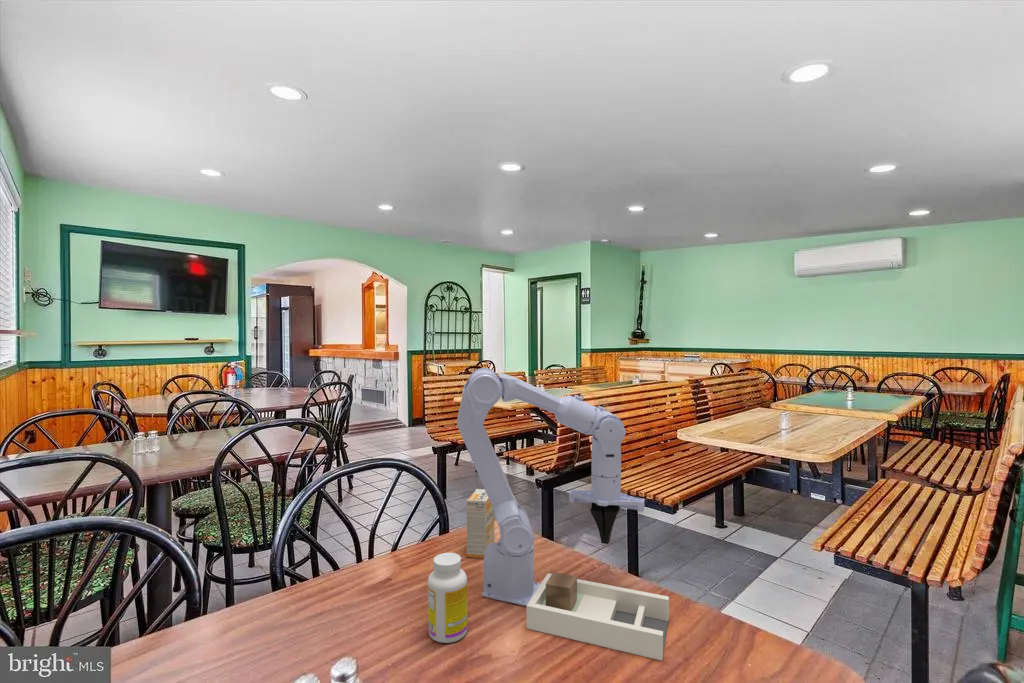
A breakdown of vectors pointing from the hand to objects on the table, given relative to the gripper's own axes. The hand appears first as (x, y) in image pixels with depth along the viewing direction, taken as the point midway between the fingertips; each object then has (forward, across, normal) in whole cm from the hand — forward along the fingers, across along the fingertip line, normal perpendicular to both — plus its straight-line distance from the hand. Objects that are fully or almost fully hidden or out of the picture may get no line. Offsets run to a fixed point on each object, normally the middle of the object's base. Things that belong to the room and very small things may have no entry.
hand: (605, 541), depth 100 cm
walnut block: (+7, -6, -12) cm, 15 cm away
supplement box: (+10, -30, +6) cm, 32 cm away
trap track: (+9, +1, -12) cm, 15 cm away
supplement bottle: (+10, -22, -24) cm, 34 cm away
